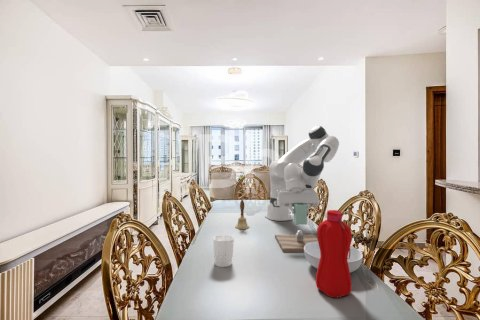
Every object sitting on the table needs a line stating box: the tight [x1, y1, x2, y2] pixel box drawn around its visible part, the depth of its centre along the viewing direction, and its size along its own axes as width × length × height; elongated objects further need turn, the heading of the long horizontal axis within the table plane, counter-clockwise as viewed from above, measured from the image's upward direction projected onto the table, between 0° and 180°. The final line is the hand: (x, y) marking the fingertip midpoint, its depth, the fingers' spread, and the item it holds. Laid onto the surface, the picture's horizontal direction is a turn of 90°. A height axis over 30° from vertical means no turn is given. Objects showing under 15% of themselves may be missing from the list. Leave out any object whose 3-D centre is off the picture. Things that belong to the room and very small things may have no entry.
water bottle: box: [315, 209, 353, 298], centre depth 80 cm, size 9×11×25 cm
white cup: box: [212, 234, 235, 268], centre depth 101 cm, size 8×8×10 cm
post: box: [295, 229, 304, 242], centre depth 124 cm, size 3×3×5 cm
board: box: [274, 234, 318, 253], centre depth 124 cm, size 20×20×2 cm
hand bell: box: [235, 199, 250, 230], centre depth 153 cm, size 8×8×16 cm
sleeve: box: [293, 203, 308, 226], centre depth 124 cm, size 5×5×9 cm
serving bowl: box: [303, 241, 364, 274], centre depth 98 cm, size 21×21×7 cm
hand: (300, 213), depth 124 cm, fingers closed on sleeve, 5 cm apart
